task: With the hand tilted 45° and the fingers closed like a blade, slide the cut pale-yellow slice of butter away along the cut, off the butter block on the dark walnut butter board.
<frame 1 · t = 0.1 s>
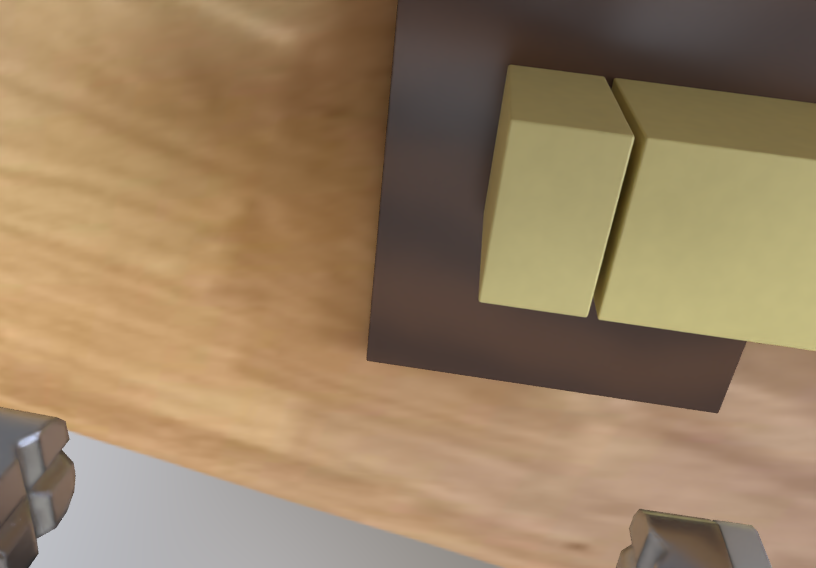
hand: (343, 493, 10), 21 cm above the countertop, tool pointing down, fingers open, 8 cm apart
butter block: (701, 170, 27), resting on butter board
butter slice: (540, 149, 28), point 1 cm above the countertop, touching butter board
butter board: (592, 148, 29), on the countertop
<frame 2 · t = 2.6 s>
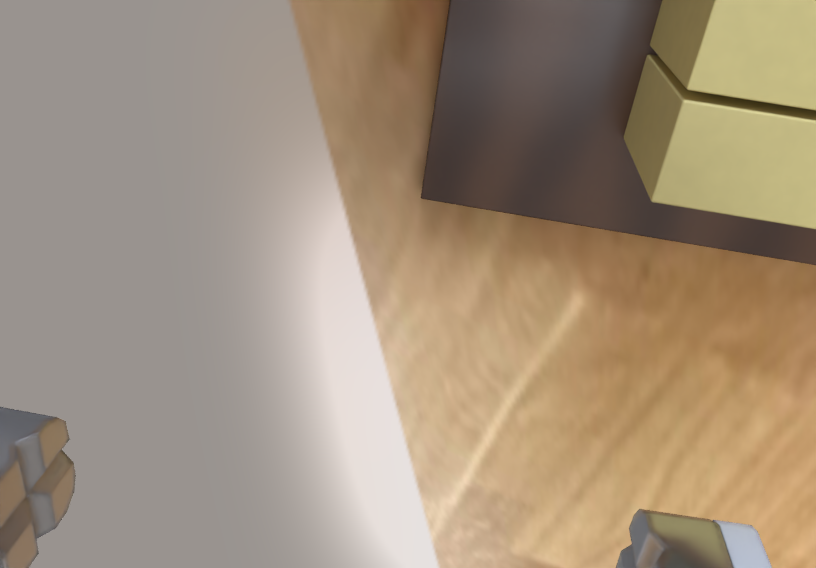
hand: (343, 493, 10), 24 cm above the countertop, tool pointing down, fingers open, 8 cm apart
butter slice: (708, 109, 30), point 1 cm above the countertop, touching butter board
butter board: (719, 52, 29), on the countertop
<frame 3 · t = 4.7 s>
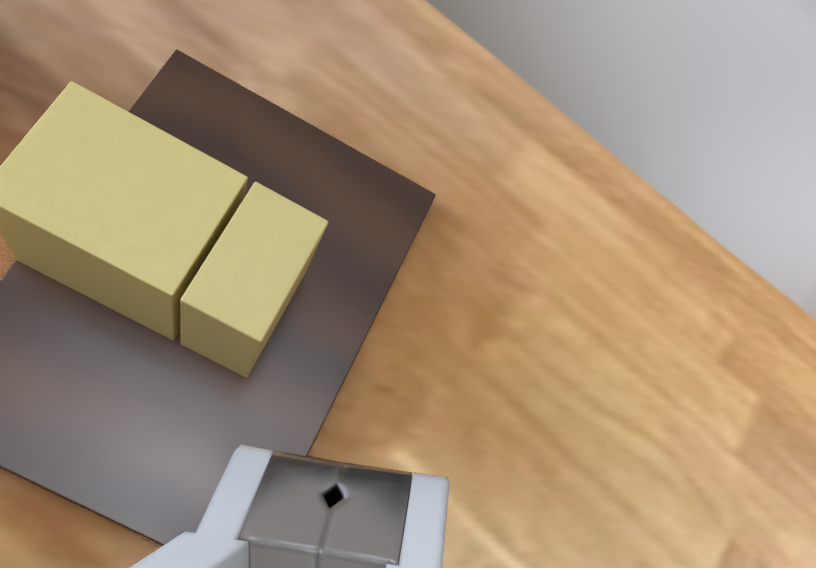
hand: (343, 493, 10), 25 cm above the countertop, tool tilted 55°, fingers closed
butter block: (131, 249, 35), resting on butter board
butter slice: (244, 308, 36), point 1 cm above the countertop, touching butter board
butter board: (206, 294, 36), on the countertop
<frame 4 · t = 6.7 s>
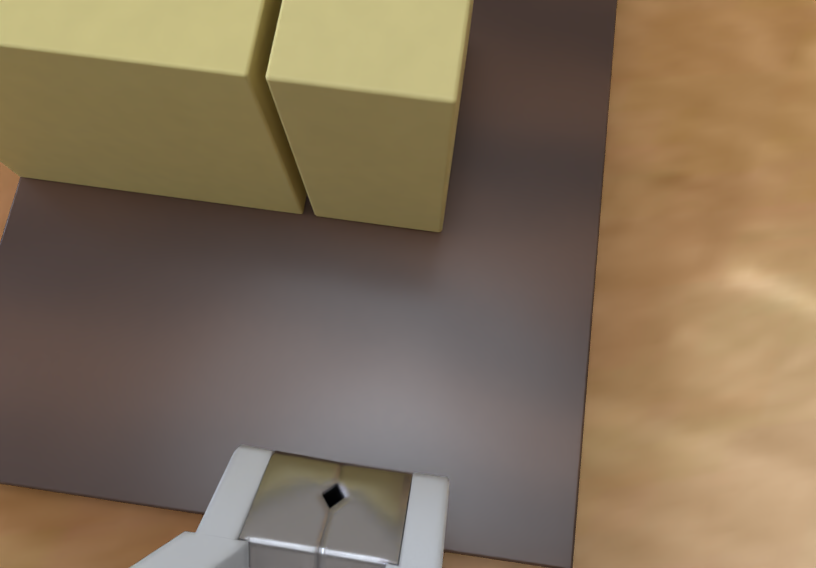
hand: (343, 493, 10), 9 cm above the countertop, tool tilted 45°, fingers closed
butter block: (184, 99, 21), resting on butter board
butter slice: (394, 126, 21), point 1 cm above the countertop, touching butter board
butter board: (326, 133, 22), on the countertop
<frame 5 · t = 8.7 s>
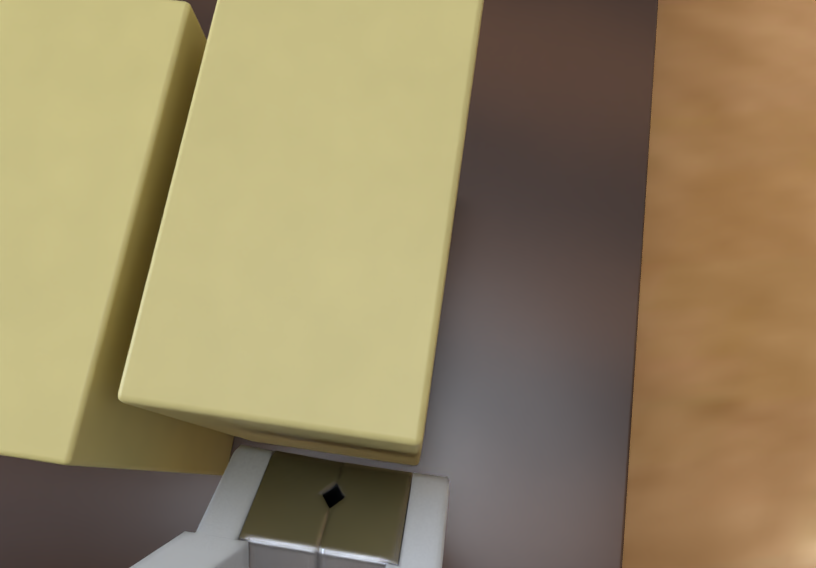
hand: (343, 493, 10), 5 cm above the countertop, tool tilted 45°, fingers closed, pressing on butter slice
butter block: (74, 305, 16), resting on butter board
butter slice: (357, 311, 16), point 1 cm above the countertop, touching butter board, gripper
butter board: (265, 340, 16), on the countertop
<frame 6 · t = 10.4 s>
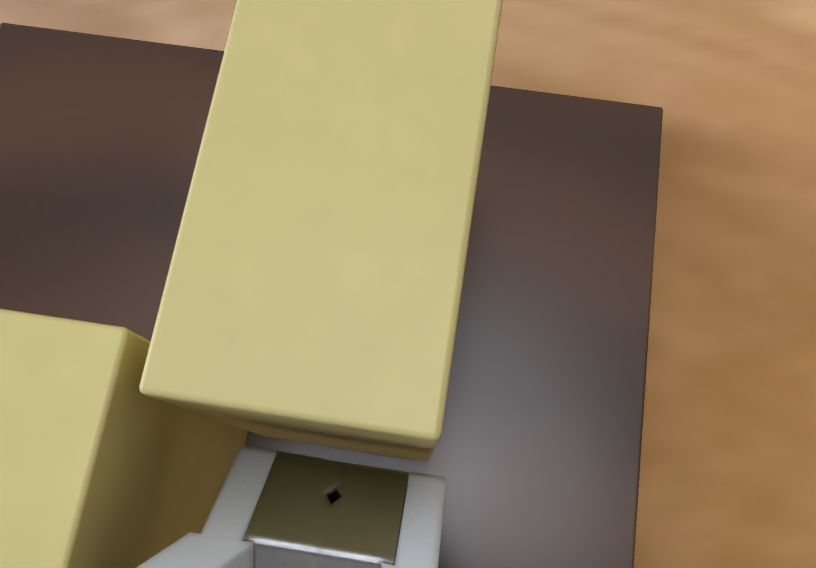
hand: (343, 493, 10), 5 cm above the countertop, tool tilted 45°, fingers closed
butter block: (29, 517, 15), resting on butter board
butter slice: (369, 308, 16), point 1 cm above the countertop, touching butter board
butter board: (236, 545, 15), on the countertop
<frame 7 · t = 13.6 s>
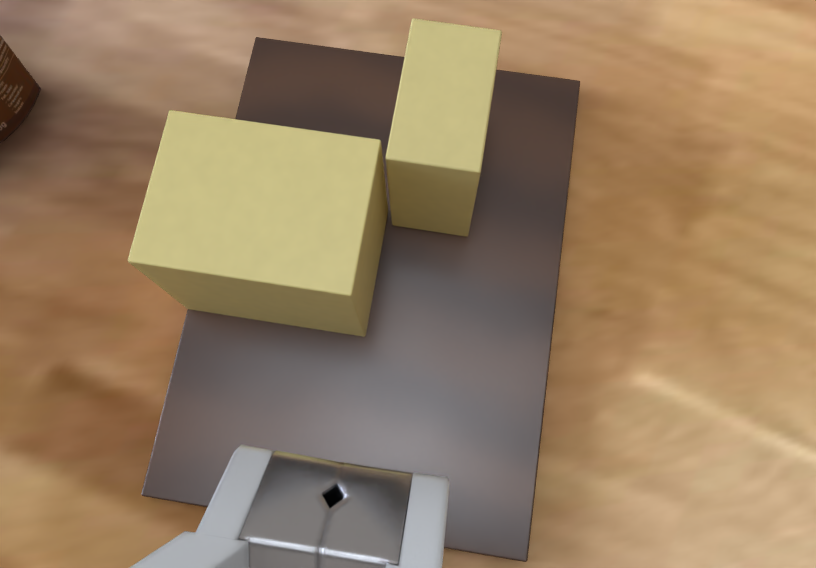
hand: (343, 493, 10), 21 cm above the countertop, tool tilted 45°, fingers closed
butter block: (289, 258, 33), resting on butter board
butter slice: (439, 171, 34), point 1 cm above the countertop, touching butter board
butter board: (378, 278, 34), on the countertop
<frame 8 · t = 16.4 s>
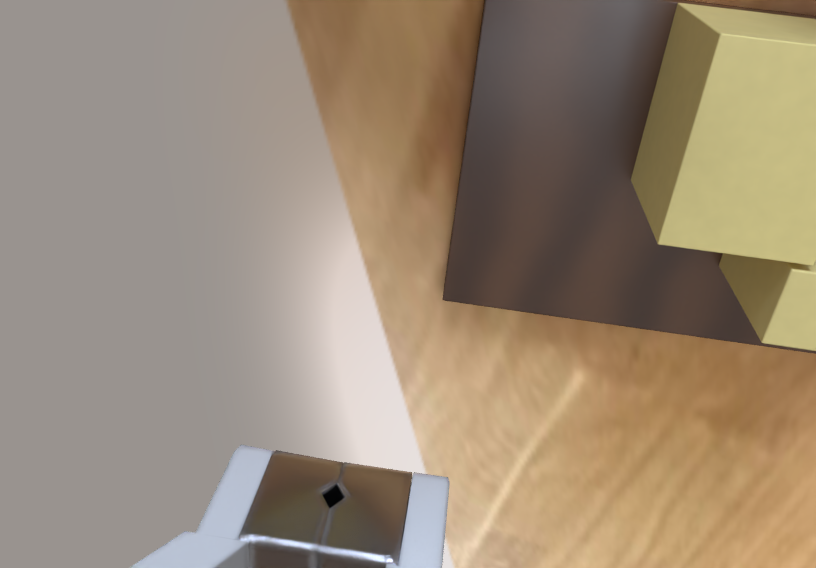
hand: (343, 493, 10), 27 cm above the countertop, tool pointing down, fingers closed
butter block: (720, 105, 32), resting on butter board
butter slice: (792, 242, 35), point 1 cm above the countertop, touching butter board
butter board: (689, 181, 35), on the countertop
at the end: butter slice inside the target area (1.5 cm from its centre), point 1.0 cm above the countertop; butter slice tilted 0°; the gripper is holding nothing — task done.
